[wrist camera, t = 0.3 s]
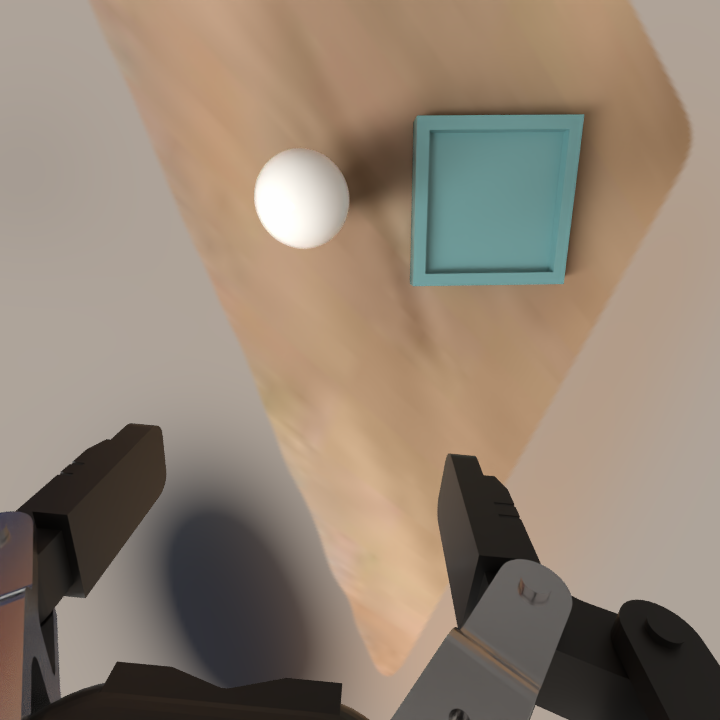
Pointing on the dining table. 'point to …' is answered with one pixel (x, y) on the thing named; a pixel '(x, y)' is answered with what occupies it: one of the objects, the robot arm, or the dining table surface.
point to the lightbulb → (301, 198)
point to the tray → (492, 198)
